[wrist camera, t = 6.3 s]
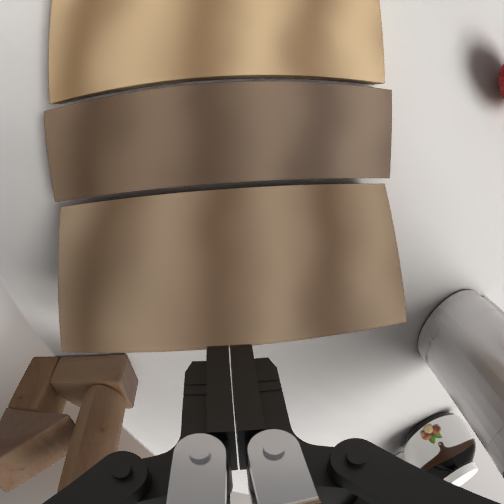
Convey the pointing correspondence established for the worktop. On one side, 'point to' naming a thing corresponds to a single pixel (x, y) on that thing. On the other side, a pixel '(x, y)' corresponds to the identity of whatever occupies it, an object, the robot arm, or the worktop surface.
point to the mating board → (218, 136)
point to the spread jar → (442, 448)
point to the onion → (501, 81)
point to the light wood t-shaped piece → (64, 416)
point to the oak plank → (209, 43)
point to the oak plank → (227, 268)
